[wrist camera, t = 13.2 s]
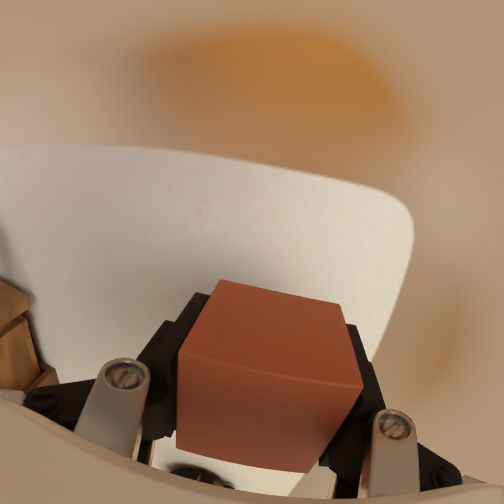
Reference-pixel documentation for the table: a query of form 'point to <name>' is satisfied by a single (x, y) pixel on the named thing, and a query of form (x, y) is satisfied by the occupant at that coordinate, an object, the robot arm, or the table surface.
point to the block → (264, 378)
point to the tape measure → (199, 477)
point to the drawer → (15, 341)
